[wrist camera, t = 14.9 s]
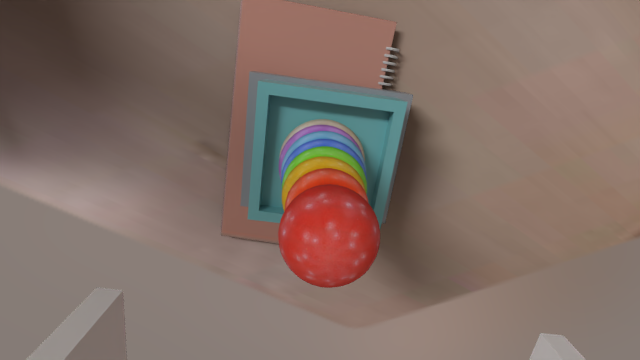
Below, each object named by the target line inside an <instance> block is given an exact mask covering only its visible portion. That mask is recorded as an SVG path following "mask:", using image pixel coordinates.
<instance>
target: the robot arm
mask: <svg viewBox="0 0 640 360" xmlns="http://www.w3.org/2000/svg"><path fill="white" fill-rule="evenodd" d="M125 334H126V333H125V317H124V299H123V290H117V289H107V288H96V289H95V290H94V291H93V292H92V293H91V294H90V295H89V296H88V297H87V298H86V299H85V300H84V301H83V302H82V303H81V304H80V305H79V306H78V307H77V308H76V309H75V310H74V311H73V312H72V313H71V314H70V315H69V316H68V317H67V318H66V319H65V320H64V321H63V323H61V324H60V325H59V327H58V328H57V329H56V330H55V331H54V332H53V333H52V334H51V335H50V336H49V337H48V338H47V339H46V340H45V341H44V342H43V343H42V344H41V345H40V346H39V347H38V348H37V349H36V350H35V351H34V352H33V353H32V354H31V355H30V356H29V357H28V358H27V359H26V360H127V351H126V335H125ZM529 360H585V358H583V356H582V355H581V354H580V353H579V352H578V351H577V350H576V349H575V348H574V347H573V345H572V344H571V343H570V342H569V341H568V340H567V339H566V338H565V337H564V336H563V335H555V334H545V333H540V336H539V338H538V340H537V343H536V345H535V348H534V350H533V352H532V355H531V357H530V359H529Z"/></svg>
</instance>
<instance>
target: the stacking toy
mask: <svg viewBox="0 0 640 360" xmlns="http://www.w3.org/2000/svg"><path fill="white" fill-rule="evenodd" d="M279 176H280V179H281V183H282V206H283V209H284V213H283V215H282V218H281V221H280V225H279V231H278V239H279V247H280V251H281V254H282V256H283V258H284V260H285V262H286V264H287V265H288V267H289V268H290V269H291V270H292V271H293V272H294V273H295V274H296V275H297V276H298V277H299V278H301V279H302V280H304V281H306V282H308V283H310V284H312V285H316V286H319V287H339V286H344V285H346V284H349V283H351V282H353V281H355V280H357V279H358V278H360V277H361V276H362V275H363V274H365V273H366V271H367V270H368V269H369V268H370V266H371V265H372V263H373V261H374V260H375V258H376V255H377V252H378V249H379V244H380V228H379V222H378V220H377V217H376V214H375V212H374V211H373V209H372V207H371V206H370V204H369V203H368V198H367V195H366V193H367V176H366V165H365V155H364V150H363V147H362V144H361V142H360V140H359V139H358V137H357V136H356V135H355V133H354V132H353V131H352V130H351V129H349V128H348V127H347V126H345V125H343V124H341V123H339V122H336V121H333V120H328V119H316V120H311V121H308V122H305V123H303V124H301V125H299V126H298V127H296V128H295V129H294V130H293V131H291V133H290V134H289V135H288V136H287V137H286V139H285V141H284V143H283V145H282V147H281V150H280V156H279Z"/></svg>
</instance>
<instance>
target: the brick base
mask: <svg viewBox="0 0 640 360" xmlns="http://www.w3.org/2000/svg"><path fill="white" fill-rule="evenodd" d="M412 98H413V95H412V94H409V93H405V92H398V91H391V90H384V89H377V88H370V87H363V86H356V85H349V84H342V83H335V82H328V81H321V80H314V79H307V78H300V77H293V76H286V75H279V74H272V73H265V72H258V71H250V72H249V86H248V100H247V115H246V130H245V145H244V159H243V174H242V189H241V204H240V206H245V207H248V219H249V220H257V221H266V222H274V223H280V221H281V218H282V215H283V213H284V209H283V206H282V183H281V179H280V176H279V156H280V150H281V147H282V145H283V143H284V141H285V139H286V137H287V136H288V135H289V134H290V133H291V131H293V130H294V129H295V128H296V127H298V126H299V125H301V124H303V123H305V122H308V121H311V120H316V119H328V120H333V121H336V122H339V123H341V124H343V125H345V126H347V127H348V128H349V129H351V130H352V131H353V132H354V133H355V135H356V136H357V137H358V139H359V140H360V142H361V144H362V147H363V150H364V155H365V165H366V176H367V193H366V195H367V198H368V203H369V204H370V206H371V207H372V209H373V211H374V212H375V214H376V217H377V220H378V222H379V228H381V224H382V223H385V222H386V217H387V213H388V208H389V204H390V199H391V194H392V190H393V185H394V181H395V176H396V172H397V167H398V162H399V158H400V153H401V149H402V144H403V140H404V135H405V130H406V126H407V121H408V117H409V112H410V107H411V103H412Z"/></svg>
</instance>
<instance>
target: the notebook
mask: <svg viewBox="0 0 640 360" xmlns="http://www.w3.org/2000/svg"><path fill="white" fill-rule="evenodd" d="M396 23H397V22H393V21H388V20H383V19H378V18H373V17H367V16H362V15H357V14H352V13H347V12H342V11H336V10H331V9H326V8H321V7H316V6H310V5H305V4H300V3H295V2H290V1H285V0H241V9H240V21H239V32H238V43H237V55H236V66H235V77H234V89H233V100H232V111H231V123H230V134H229V145H228V157H227V168H226V179H225V191H224V202H223V213H222V225H221V235H222V236H229V237H236V238H243V239H249V240H256V241H263V242H270V243H277V244H279V239H278V231H279V225H280V223H274V222H266V221H257V220H249V219H248V207H245V206H240V204H241V189H242V174H243V159H244V145H245V130H246V115H247V100H248V86H249V72H250V71H258V72H265V73H272V74H279V75H286V76H293V77H300V78H307V79H314V80H321V81H328V82H335V83H342V84H349V85H356V86H363V87H370V88H377V89H382V86H383V85H386V86H391V85H392V84H390V83H384V78H386V79H391V80H393V77H390V76H385V73H386V71H387V72H391V73H394V72H395V70H391V69H386V68H387V64H389V65H392V66H396V63H392V62H388V59H389V57H390V58H394V59H398V56H394V55H390V50H393V51H395V52H399V51H400V50H399V49H396V48H392V47H391V46H392V41H393V37H394V32H395V28H396Z"/></svg>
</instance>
